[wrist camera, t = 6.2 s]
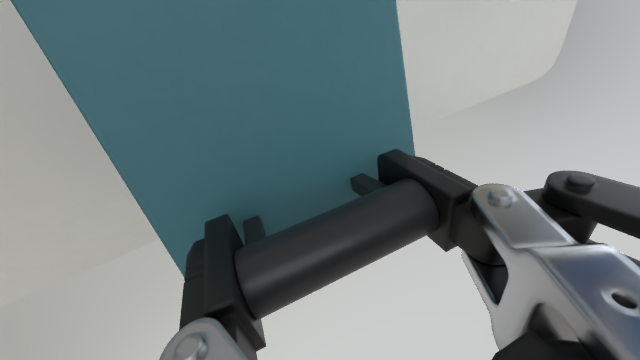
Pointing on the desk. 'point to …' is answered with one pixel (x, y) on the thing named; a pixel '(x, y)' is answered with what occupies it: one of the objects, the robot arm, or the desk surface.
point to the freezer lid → (249, 126)
